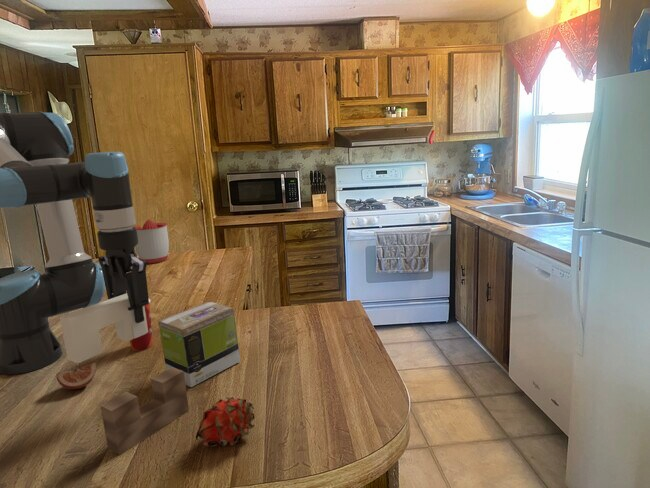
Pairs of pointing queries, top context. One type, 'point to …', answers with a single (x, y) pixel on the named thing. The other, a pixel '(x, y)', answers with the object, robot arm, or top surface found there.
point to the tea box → (200, 341)
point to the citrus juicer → (152, 242)
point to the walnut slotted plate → (144, 411)
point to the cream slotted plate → (96, 327)
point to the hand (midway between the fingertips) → (133, 333)
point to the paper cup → (146, 339)
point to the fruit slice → (77, 377)
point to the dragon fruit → (226, 422)
